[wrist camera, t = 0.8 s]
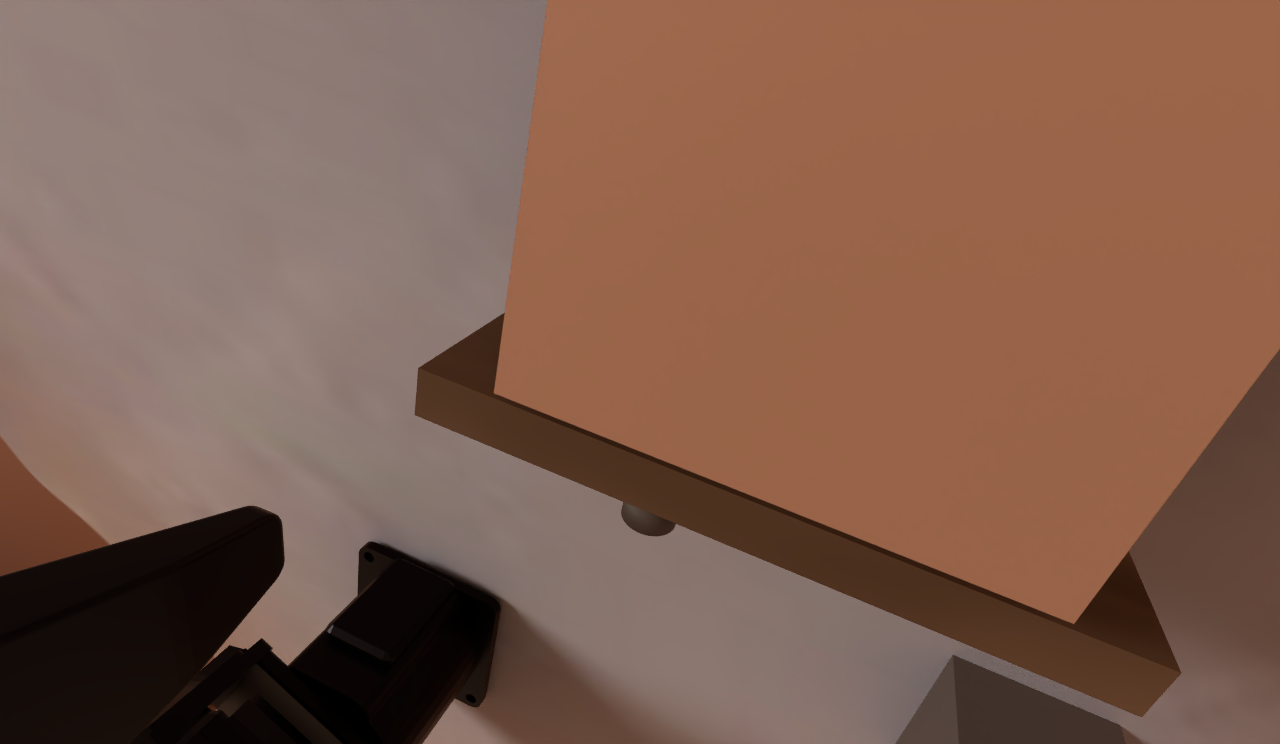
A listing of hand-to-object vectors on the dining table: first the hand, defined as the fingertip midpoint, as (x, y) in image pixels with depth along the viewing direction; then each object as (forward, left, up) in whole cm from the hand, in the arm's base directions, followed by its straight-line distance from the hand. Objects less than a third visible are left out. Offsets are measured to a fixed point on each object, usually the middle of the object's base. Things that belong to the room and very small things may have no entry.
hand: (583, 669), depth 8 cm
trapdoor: (+5, -1, -10) cm, 11 cm away
